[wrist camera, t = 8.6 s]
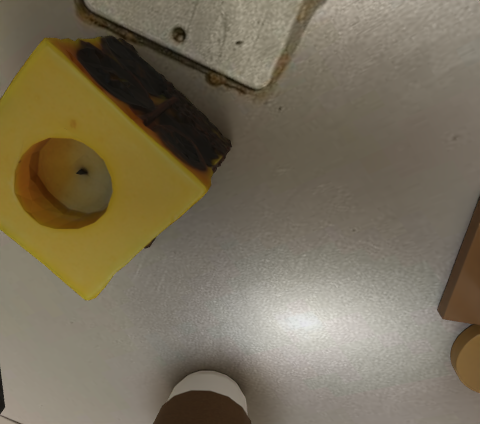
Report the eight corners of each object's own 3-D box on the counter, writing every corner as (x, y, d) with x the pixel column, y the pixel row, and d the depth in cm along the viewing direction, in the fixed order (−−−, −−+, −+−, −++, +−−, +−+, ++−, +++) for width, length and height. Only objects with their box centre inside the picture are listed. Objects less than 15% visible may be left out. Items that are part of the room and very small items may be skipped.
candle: (235, 143, 30) (218, 189, 21) (142, 234, 33) (92, 310, 24) (122, 31, 28) (46, 26, 18) (35, 140, 31) (-68, 183, 22)
